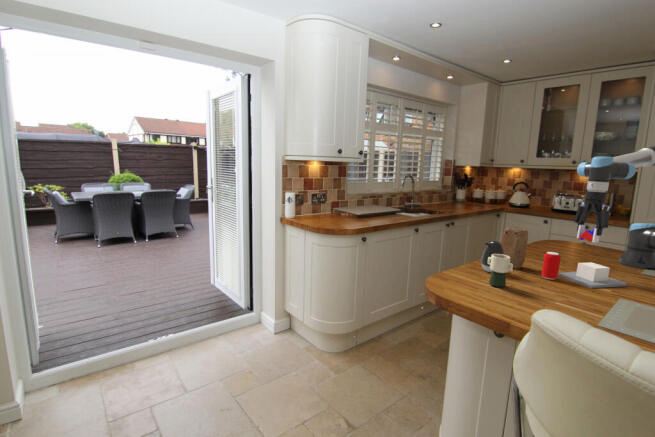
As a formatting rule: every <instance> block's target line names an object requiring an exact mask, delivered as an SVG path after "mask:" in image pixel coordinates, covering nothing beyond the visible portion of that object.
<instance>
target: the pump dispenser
mask: <svg viewBox="0 0 655 437" xmlns="http://www.w3.org/2000/svg"><path fill="white" fill-rule="evenodd" d="M483 244H484V245H485V246H486V247H485V249H484V251H483V253H482V256H481V259H480V264H481V266H482V269H483V270H484V271H485V272H487V273H490V274H491V273H492V272H493V271H492V270H491V269H490V265H489V264H488V257H491V256H492V254H503V255H504V251H503V247H502V245H501V242H500V241H498V240H491V241H490V242H486V241H484V243H483ZM490 263H491V259H490Z"/></svg>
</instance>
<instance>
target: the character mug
mask: <svg viewBox="0 0 655 437" xmlns="http://www.w3.org/2000/svg"><path fill="white" fill-rule="evenodd" d="M490 259H491V263H490ZM488 264H489V265H490V269H491V270H492V271H493V272H492V273H490V277H489V281H488V284H490V286H493V287H494V286H495V287H500V288H502V287H506V284H507V282H506V280H507V278H506V273H508V272H513V269H514V268H513V264H512V263H510V257H509V256H507V255H503V254H492V256H491V257H488Z"/></svg>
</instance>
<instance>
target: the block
mask: <svg viewBox="0 0 655 437" xmlns="http://www.w3.org/2000/svg"><path fill="white" fill-rule="evenodd" d="M528 240H529V231H528V230H527V229H525V228H522V227H518V226H517V227H516V226H510V227H507V228H505V230H504V231H503V233H502V236H501V242H500V243H501V245H502V247H503V251H504V255H507V256H509V257H510V263H512V264H513V269H514V270H515V269H516V270H517V269H521V268H522V267H523V264H524V263H525V261H526V254H527V247H528Z"/></svg>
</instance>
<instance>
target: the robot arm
mask: <svg viewBox="0 0 655 437" xmlns="http://www.w3.org/2000/svg"><path fill="white" fill-rule="evenodd" d="M640 167H643V168H647V167H655V145H651V146H648V147H644V148H640V149H639V150H638V151H635V152H630V153H625V154H622V155H618V156H613V157H612V156H594V157H592V159H591V161H584V162H581V163H579V164H578V165H577V167H576V168H577V169H576V172H577V175H578V176H579V177H584V178H588V180H587V184H586V190H587V191H585V194H584V195H585V196H584V199H585V200H584V202H583V201H581V202H578V203H577V210H576V214H575V217H574V223H576V224H577V228H576V231H577V235H576V239H578V238H579V237H580V236H581V235H582V234H583V233H584V232H585V231H586V224H585V223H586V221H587V219H588V217H589V215H590V214H591V213H592V212H593V215H594V219H595V224H596V226H595V227H594V228H595V229H594V228H593V229H594V234H593V240H592V242H591V243H599V241H600V238H601V236H602V234H603V230H604V229H608V228H609V222H610V219H609V218H610V211H611V208H612V206H611V205H606V204H605V201H606V200H607V196H608V193H607V192H608V190H609V184H610V180H611V179H614V180H616V179H617V180H629V179H631V178H632V177H633V176H634V175H636V170H637V168H640ZM628 232H629V233H628V236H627V237H628V238H627V242H626V248H625V250H624V251H623V252H622V254H621V256H620V257H619V260H618V262H619V263H620V264H623V265H624V266H629V267H632V268H638V269H643V270H648V269H647V268H655V223H648V222H647V223H645V222H644V223H643V222H642V223H641V222H635V223H632V224H631V225H630V227H629V231H628Z"/></svg>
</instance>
